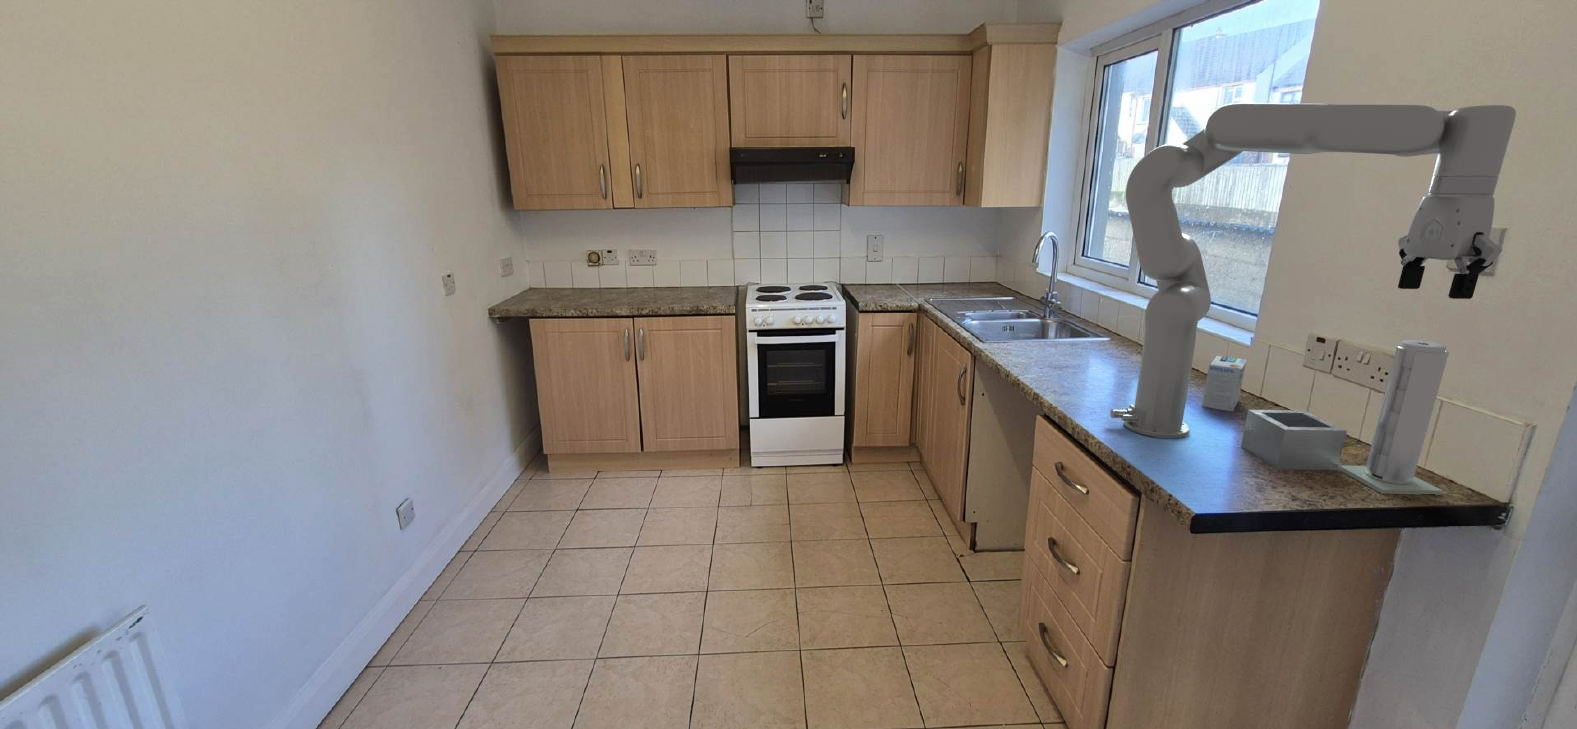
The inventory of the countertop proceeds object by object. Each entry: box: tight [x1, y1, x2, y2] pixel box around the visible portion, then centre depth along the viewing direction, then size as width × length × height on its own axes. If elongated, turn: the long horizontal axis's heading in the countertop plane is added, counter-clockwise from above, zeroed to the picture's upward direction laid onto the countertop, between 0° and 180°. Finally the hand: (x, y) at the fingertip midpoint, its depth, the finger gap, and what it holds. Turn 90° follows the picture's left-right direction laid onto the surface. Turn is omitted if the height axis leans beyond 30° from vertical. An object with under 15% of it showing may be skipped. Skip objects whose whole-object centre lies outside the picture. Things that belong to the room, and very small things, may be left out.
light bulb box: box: [1201, 355, 1248, 413], centre depth 158 cm, size 11×7×11 cm, turn 141°
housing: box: [1240, 409, 1348, 471], centre depth 127 cm, size 11×11×8 cm
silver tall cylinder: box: [1365, 339, 1450, 485], centre depth 114 cm, size 6×6×25 cm
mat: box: [1337, 464, 1444, 496], centre depth 118 cm, size 10×10×1 cm
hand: (1432, 293), depth 109 cm, fingers open, 9 cm apart
